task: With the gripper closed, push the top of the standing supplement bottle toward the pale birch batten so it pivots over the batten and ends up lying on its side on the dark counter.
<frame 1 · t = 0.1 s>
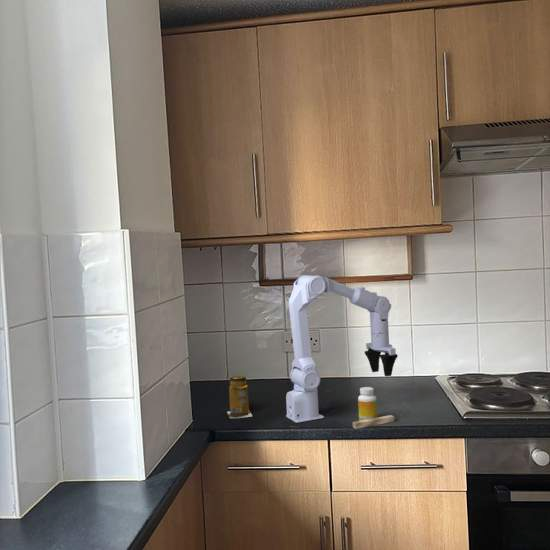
hand: (381, 373, 187), 10 cm above the worktop, fingers open, 7 cm apart
condiment: (239, 415, 185), on the worktop
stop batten: (373, 424, 166), on the worktop
supplement bottle: (368, 421, 170), on the worktop
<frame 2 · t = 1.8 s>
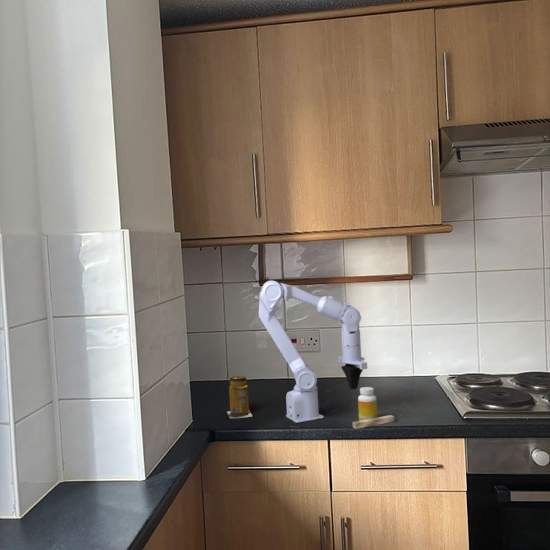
hand: (353, 388, 177), 8 cm above the worktop, fingers closed
nothing on the worktop moved.
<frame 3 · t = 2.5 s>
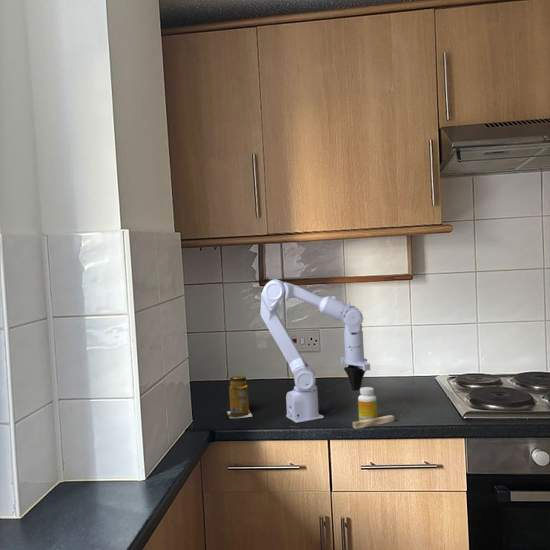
hand: (356, 390, 176), 8 cm above the worktop, fingers closed
nothing on the worktop moved.
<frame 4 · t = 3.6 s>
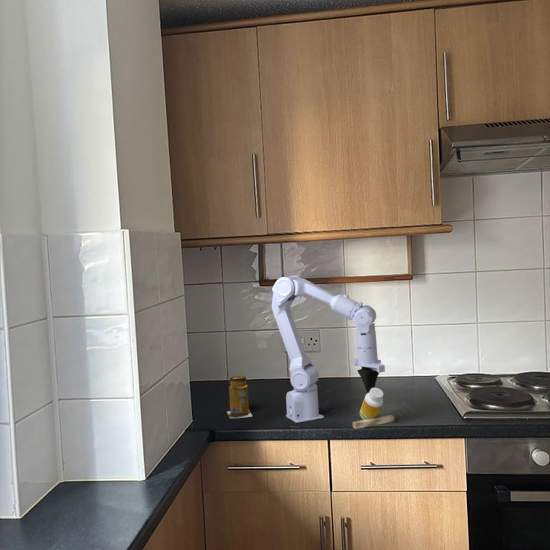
hand: (370, 392, 169), 9 cm above the worktop, fingers closed, pressing on supplement bottle
supplement bottle: (367, 416, 170), point 1 cm above the worktop, touching gripper, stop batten
everything else where it was.
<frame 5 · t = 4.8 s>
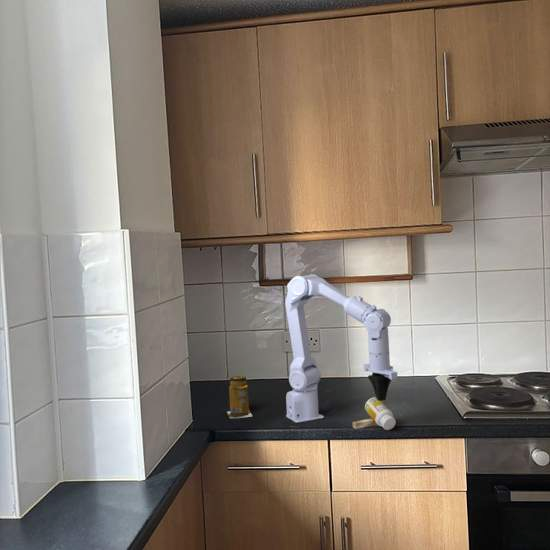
hand: (381, 399, 163), 8 cm above the worktop, fingers closed
supplement bottle: (372, 404, 168), point 5 cm above the worktop, touching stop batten
everything else where it was.
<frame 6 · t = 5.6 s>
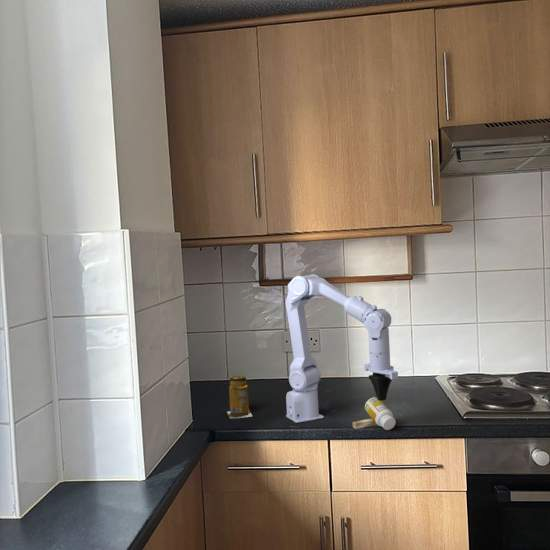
hand: (381, 399, 163), 8 cm above the worktop, fingers closed
nothing on the worktop moved.
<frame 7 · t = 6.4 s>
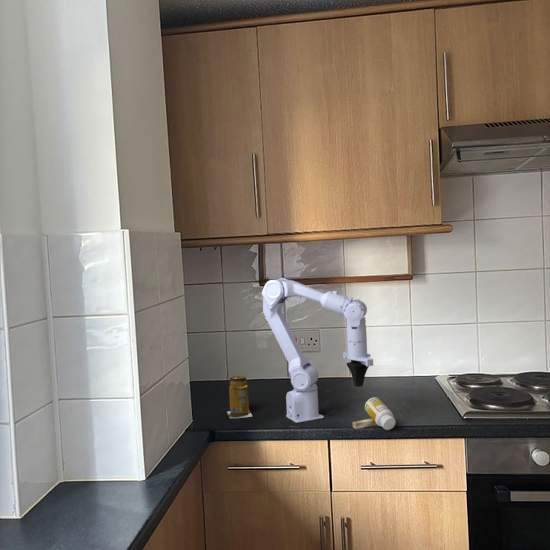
hand: (358, 386, 171), 10 cm above the worktop, fingers closed
nothing on the worktop moved.
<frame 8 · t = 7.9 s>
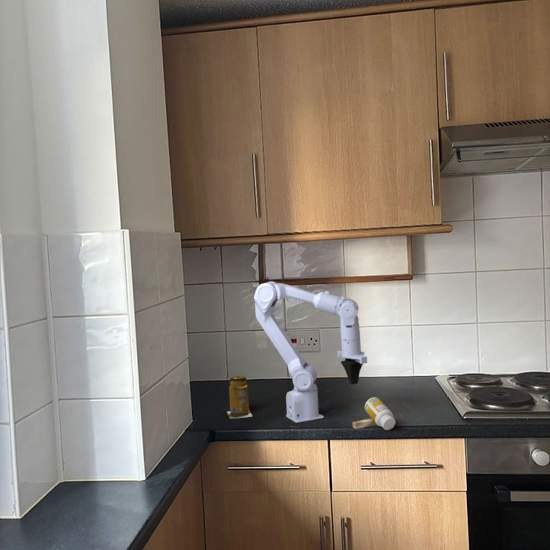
hand: (353, 383, 174), 10 cm above the worktop, fingers closed
nothing on the worktop moved.
at the end: supplement bottle tilted 111°; supplement bottle moved 5.8 cm from its start; the gripper is holding nothing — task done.
